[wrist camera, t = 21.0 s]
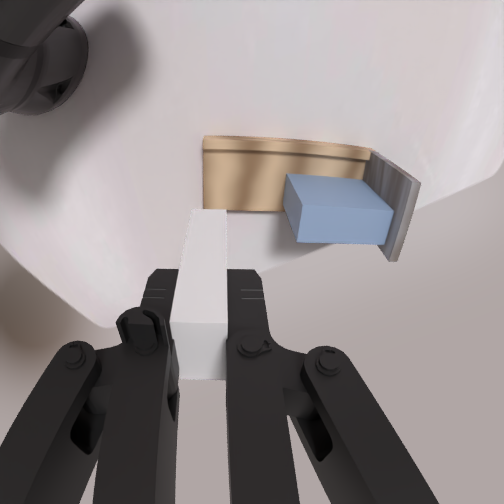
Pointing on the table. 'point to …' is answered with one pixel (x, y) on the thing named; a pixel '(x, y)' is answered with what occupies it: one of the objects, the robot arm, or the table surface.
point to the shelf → (307, 163)
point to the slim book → (335, 210)
